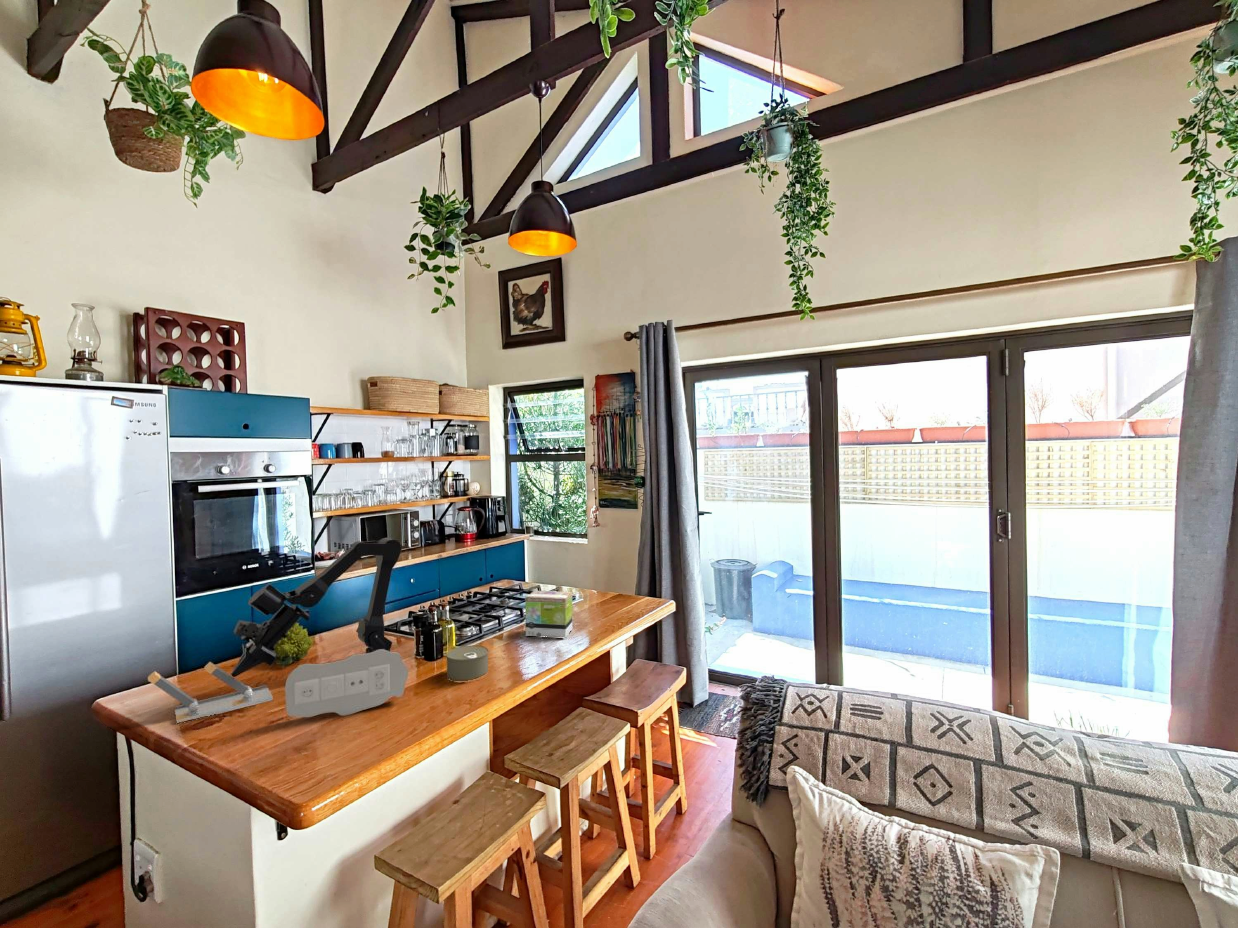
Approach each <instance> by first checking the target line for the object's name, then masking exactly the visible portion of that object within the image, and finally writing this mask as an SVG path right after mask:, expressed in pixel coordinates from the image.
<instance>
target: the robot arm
mask: <svg viewBox="0 0 1238 928" xmlns="http://www.w3.org/2000/svg"><path fill="white" fill-rule="evenodd" d="M402 551H403V547H402V544H401V543H400V541H398V540H396V539H393V538H390V537H384V538H381V539H379V540H369V541H359V540H358V541H355V542H353V543H352V544H351V546H350V547H348V549H346V550H345V551H344V552H343V553H341V555H339V556H338V557H337V558H336V559H335V560H334V561H333V562H332V563H331V564H329V566H328V567H326V568H325V569H324V570H323V571H322V572H320V573H319V574H317V575H316V576H314V577H312V578H310V579H308V580H307V581H305V582H304V583H302V584H300V585H298V587H296V588H295V589H294V590H289V591H286V592H283V593H282V592H281V591H280V590H278V589H277V588H276V587H274V586H273V585H272V584H271V583H270V582H269V583H267V584H266V585H264V586H263V587H262V588H260V589H259V590H258V591H256V592H255V593H254V594H253V595H252V596H251V597H250V598H249V600H248V602H247V604H248V605H249V606H250V607H252V608H254V609H255V610H257V611H258V612H260V613H262V614H263V615H265V616H270V615H271V616H272V615H273V616H272V617H271V618H270V619H269V620H265V621H263V622H262V623H261V624H259V623H256V622H251V621H247V620H246V621H245V620H241V619H238V622H237V623H236V625H235V627H234V630H233V633H234V635H235V636H238V637H240V639H241V640H242V641H246V642H247V643H246V644H244V643H242V644H241V645H242V646H241V647H242V655H241V656H240V658H239V660H238V661H237V663H236V664H235V666H234V667H233V670H232V671H231V673H230V675H231V676H233V677H234V678H236V677H238V676H239V675H241V674H243V673H245V672H247V671H249V670H251V669H253V668H255V667H257V666H259V665H261V664H264V663H265V665H266V664H267V665H268V666H270V667H272V666H273V664H274V663H276V660H277V655H276V654H275V652H274V650H275V648H274V647H275V646H276V644H277V643H278V642H279V641H280V640H281V639H282V638H284V639H285V638H286V637H287V635H286V634H287V632H288V631H289V630H290V629H291V628H292V627H293V626H294V625H295V624H296V623H299V620H301V618H302V619H304V620H306V621H307V622H309V621H310V610H309V609H310V608H313V607H315V606H316V605H319V602H320V601H321V600H322V599H323V598H324V596H325V595H326V593H327V592H328V590H329V588H330V587H331V586H332V585H333V583H335V582H336V581H337V580H338V579H339V578H340V577H341V576H342V575H343V574H345V573H346V572H347V571H348V570H349V569H350V568H352V566H353V565H354V564H355V563H356V562H357V561H359V560H360V559H361V558H362V557H364V556H375V562H376V563H375V564H376V571H375V574H374V578H373V585H372V589H371V594H370V598H369V599H370V600H369V605H368V607H367V608H368V609H367V613H366V615H365V616H364V617H363V618H361V617H360V618H358V626H357V629H356V630H355V632H356V633H357V637H358V639H359V640H360V642H362V643H363V644H364V645H365V647H366V648H365V653H364V654H366V653H371V652H374V651H377V650H380V649H383V650H387V651H389V652H391V649H392V645H393V642H392V640H390V639H388V638H387V637H385V620H384V612H385V606H386V602H387V596H388V592H389V588H390V582H391V577H392V573H393V569H394V567H395V566H396V565H397V562H398V561H399V560H400V559H399V558H400V556H401V553H402ZM286 602H288V603H289V604H288V603H286ZM298 605H300V606H301V607H303V608H306V609H303V608H301V607H300V606H298ZM307 608H309V609H307Z"/></svg>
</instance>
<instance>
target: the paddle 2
mask: <svg viewBox="0 0 1238 928" xmlns="http://www.w3.org/2000/svg"><path fill="white" fill-rule="evenodd" d="M204 671H205V672H206V673H209V675H212V676H214V677H215V678H217V679H218V680H220V681H222V682H223V683H224V684H226V685H227V686H229V687H230V688H232V689H234V690H236V692H240V693H242V694H243V695H244V696H245V697H246V698H249V697H251V696H252V695H253V691H252V689H251V688H252V687H251V686H249V685H246V684H245V683H243V682H242V681H240V680H238V679H237V678H236V677H233V676H232V675H231V674H229V673H228V672H226V671H225V670H224V669H222V668H221V667H219V666H217V665H216V664H214V663H213V662H212V661H209V662H208V663H207V664H206V665H205V666H204Z"/></svg>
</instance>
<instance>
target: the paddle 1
mask: <svg viewBox="0 0 1238 928" xmlns="http://www.w3.org/2000/svg"><path fill="white" fill-rule="evenodd" d="M147 681H148V682H150V683H151V684H152V685H154V686H156V687H158V688H159V689H161V690H162V691H163V692H165V693H166V694H167V695H169V696H171V697H172V698H173V699H175V700H176V701H177V702H179V703H181V705H183V704H184V705H185V706H186V707H188V708H189V710H190V711H195V710H196V709H197V708H198V707H199V705H198V701H199V700H198V699H197V698H195V697H194V698H193V697H192V696H190V695H189V694H188V693H186V692H185V691H184V690H182V689H181V688H179V687H178V686H176V685H175V684H174V683H172V682H171V681H169V680H168V679H167V678H165V677H164V676H162V675H161V674H160V673H158V672H157V671H155V670H154V671H153V672H151V673H150V674H149V675H148V676H147Z"/></svg>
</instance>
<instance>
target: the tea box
mask: <svg viewBox="0 0 1238 928" xmlns="http://www.w3.org/2000/svg"><path fill="white" fill-rule="evenodd" d="M524 602H525V603H524V604H525V624H524V625H525V637H526V636H545V637H546V636H547V637H566V636H567V635H568V634H569V632H570V631H571V630H572V631H573V592H572V591H551V590H549V591H548V590H533V591H531V593H530V594H528V595H527V596H525V600H524ZM569 635H570V634H569ZM569 635H568V636H569Z"/></svg>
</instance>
